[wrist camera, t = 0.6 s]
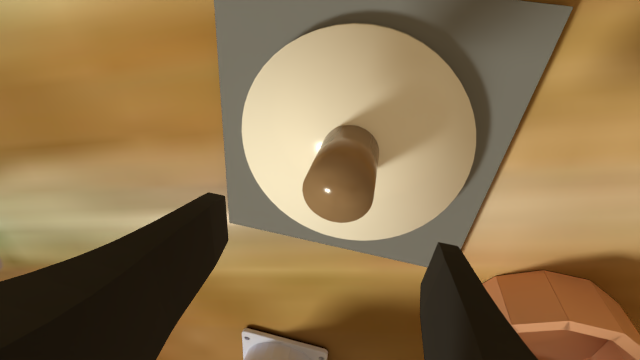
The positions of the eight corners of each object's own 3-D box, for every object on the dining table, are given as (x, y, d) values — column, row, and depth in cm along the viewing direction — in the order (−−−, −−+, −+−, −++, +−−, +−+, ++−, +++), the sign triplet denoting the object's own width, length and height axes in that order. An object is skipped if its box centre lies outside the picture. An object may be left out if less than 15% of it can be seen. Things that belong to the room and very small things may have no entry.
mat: (449, 266, 21) (449, 272, 20) (232, 218, 23) (229, 222, 22) (567, 6, 13) (573, 6, 12) (216, -36, 15) (211, -37, 14)
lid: (432, 250, 20) (440, 317, 16) (249, 210, 21) (214, 262, 17) (516, 42, 13) (565, 67, 9) (244, 6, 15) (186, 14, 11)
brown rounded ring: (569, 379, 24) (592, 434, 21) (435, 345, 25) (440, 392, 22) (656, 294, 19) (704, 352, 16) (482, 256, 20) (496, 303, 17)
